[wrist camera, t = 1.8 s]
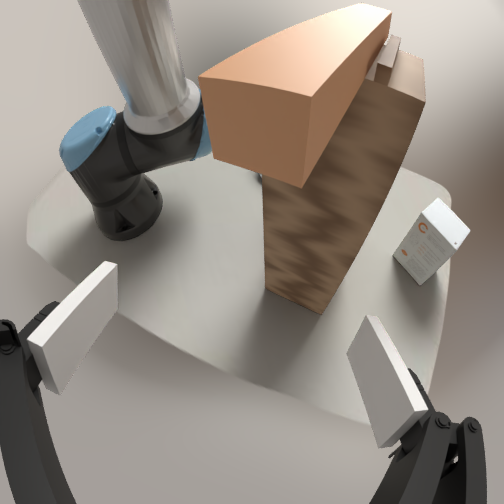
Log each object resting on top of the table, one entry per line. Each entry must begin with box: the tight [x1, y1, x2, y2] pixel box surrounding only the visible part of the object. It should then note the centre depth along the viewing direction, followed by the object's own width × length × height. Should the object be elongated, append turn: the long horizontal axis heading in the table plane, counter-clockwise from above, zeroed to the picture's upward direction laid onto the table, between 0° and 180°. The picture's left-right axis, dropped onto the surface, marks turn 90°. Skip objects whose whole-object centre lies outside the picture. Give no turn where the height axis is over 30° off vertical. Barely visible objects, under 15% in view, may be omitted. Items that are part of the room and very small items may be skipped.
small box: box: [393, 197, 470, 286], centre depth 40 cm, size 8×6×13 cm
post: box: [262, 35, 426, 315], centre depth 29 cm, size 10×10×37 cm
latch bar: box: [198, 3, 392, 189], centre depth 12 cm, size 3×24×3 cm, turn 151°
